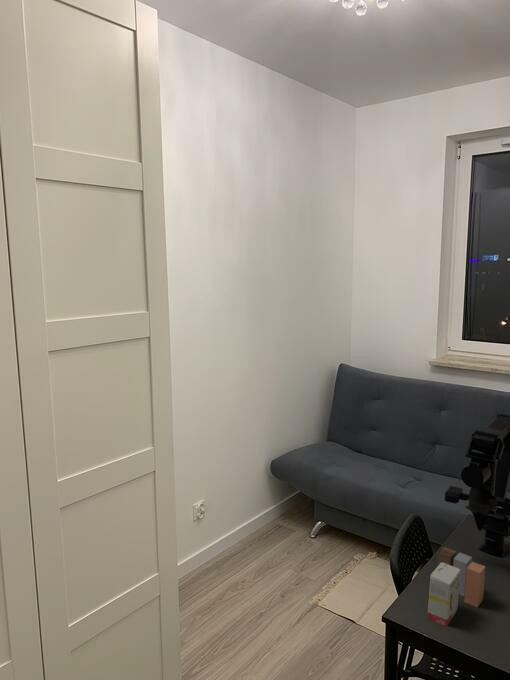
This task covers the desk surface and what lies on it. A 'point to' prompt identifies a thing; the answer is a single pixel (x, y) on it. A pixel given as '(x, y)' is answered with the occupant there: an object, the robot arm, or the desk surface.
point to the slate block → (462, 569)
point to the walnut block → (446, 556)
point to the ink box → (443, 593)
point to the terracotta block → (474, 584)
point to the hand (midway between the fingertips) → (479, 530)
